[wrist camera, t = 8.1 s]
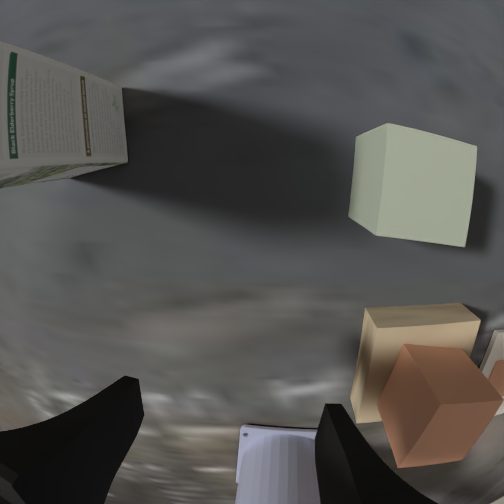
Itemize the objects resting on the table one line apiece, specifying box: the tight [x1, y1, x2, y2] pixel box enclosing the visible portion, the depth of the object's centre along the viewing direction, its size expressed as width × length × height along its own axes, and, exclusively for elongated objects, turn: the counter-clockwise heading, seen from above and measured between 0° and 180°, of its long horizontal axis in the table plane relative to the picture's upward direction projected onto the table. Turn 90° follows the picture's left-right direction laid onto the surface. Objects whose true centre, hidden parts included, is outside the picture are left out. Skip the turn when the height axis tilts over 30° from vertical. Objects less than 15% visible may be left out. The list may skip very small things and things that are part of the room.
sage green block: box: [348, 123, 477, 247], centre depth 15 cm, size 5×5×6 cm
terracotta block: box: [376, 344, 504, 468], centre depth 15 cm, size 5×5×6 cm
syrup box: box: [0, 41, 128, 188], centre depth 12 cm, size 6×6×14 cm
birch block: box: [350, 303, 481, 423], centre depth 20 cm, size 8×8×4 cm
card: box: [479, 329, 504, 415], centre depth 20 cm, size 10×7×1 cm
